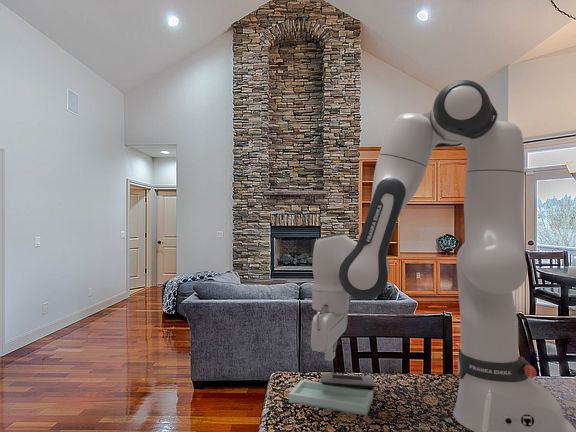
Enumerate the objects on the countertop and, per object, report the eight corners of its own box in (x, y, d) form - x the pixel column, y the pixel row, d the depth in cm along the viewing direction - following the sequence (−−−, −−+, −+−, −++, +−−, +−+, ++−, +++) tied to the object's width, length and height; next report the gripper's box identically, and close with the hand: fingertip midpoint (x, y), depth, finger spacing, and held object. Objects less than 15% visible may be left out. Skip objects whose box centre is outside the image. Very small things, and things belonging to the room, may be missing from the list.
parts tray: (373, 398, 94) (373, 390, 94) (366, 416, 86) (366, 406, 86) (301, 387, 101) (301, 379, 101) (288, 402, 92) (288, 393, 92)
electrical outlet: (371, 384, 104) (371, 375, 104) (375, 394, 94) (375, 383, 94) (321, 381, 105) (321, 371, 106) (320, 389, 95) (321, 379, 96)
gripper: (332, 311, 83) (331, 377, 83) (352, 294, 102) (351, 348, 102) (304, 309, 85) (303, 372, 85) (328, 293, 104) (328, 345, 104)
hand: (330, 359), depth 94 cm, fingers closed
